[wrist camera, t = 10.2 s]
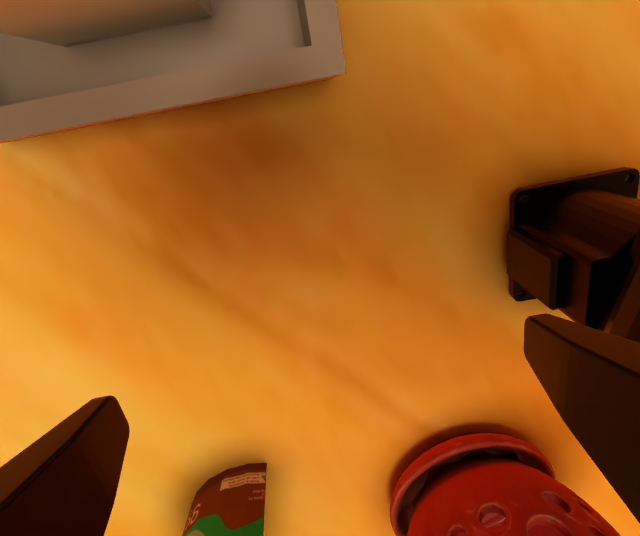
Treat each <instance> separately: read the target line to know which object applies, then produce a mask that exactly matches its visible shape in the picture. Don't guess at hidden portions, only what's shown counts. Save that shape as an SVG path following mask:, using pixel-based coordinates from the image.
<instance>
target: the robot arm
mask: <svg viewBox="0 0 640 536" xmlns="http://www.w3.org/2000/svg"><path fill="white" fill-rule="evenodd" d="M627 175H629V177H628V179H627V180H626V181H625V178H626V176H627ZM639 177H640V176H639V172H638V170H636V169H633V168H621V169H615V170H610V171H605V172H600V173H595V174H590V175H585V176H580V177H575V178H570V179H564V180H559V181H554V182H549V183H544V184H539V185H534V186H529V187H524V188H519V189H517V190H515V191H514V192H513V194H512V195H511V204H510V230H509V232H508V233H507V274H508V275H509V276H510V289H509V292H510V295H511V297H512V298H513V299H515V300H516V301H526V300H531V299H536V298H537V299H538V300H540V301H541V302H542V303H543V304H545V305H546V306H547V307H549V308H550V309H551V310H557V309H559V310H561V311H562V312H563V313H564V314H566V315H567V316H568V317H569V318H571V319H572V320H573V321H575V322H576V323H575V322H572V321H569V320H566V319H562V318H559V317H556V316H553V315H550V314H540V315H534V316H529V317H528V318H527V319H526V320H525V327H524V353H525V357H526V359H527V361H528V363H529V364H530V366H531V368H532V369H533V371H534V373H535V374H536V376H537V378H538V379H539V381H540V383H541V385H542V386H543V388H544V390H545V391H546V393H547V395H548V396H549V398H550V400H551V401H552V403H553V405H554V406H555V408H556V410H557V411H558V413H559V415H560V416H561V418H562V419H563V421H564V422H565V424H566V425H567V426H568V428H569V429H570V431H571V432H572V433H573V435H574V436H575V437H576V439H577V440H578V441H579V443H580V444H581V445H582V447H583V448H584V449H585V451H586V452H587V453H588V455H589V456H590V457H591V459H592V460H593V461H594V463H595V464H596V465H597V467H598V468H599V470H600V471H601V472H602V474H603V475H604V476H605V478H606V479H607V480H608V482H609V483H610V484H611V486H612V487H613V488H614V490H615V491H616V492H617V494H618V495H619V496H620V498H621V499H622V500H623V502H624V503H625V504H626V506H627V507H628V508H629V510H630V511H631V512H632V514H633V515H634V516H635V518H636V519H637V520H638V522H639V523H640V200H639V199H637V192H638V184H639ZM522 195H525V198H524V200H523V201H522V202H519V199H520V197H521V196H522ZM520 290H522V292H521V293H520V294H518V292H519V291H520ZM128 438H129V424H128V422H127V419H126V417H125V415H124V413H123V411H122V409H121V407H120V405H119V403H118V401H117V399H116V398H115V397H114V396H105V397H99V398H94V399H92V400H90V401H89V402H88V403H86V404H85V405H84V406H82V407H81V408H80V409H78V410H77V411H76V412H74V413H73V414H72V415H70V416H69V417H68V418H66V419H65V420H63V421H62V422H61V423H59V424H58V425H57V426H55V427H54V428H53V429H51V430H50V431H49V432H47V433H46V434H45V435H43V436H42V437H41V438H39V439H38V440H37V441H35V442H34V443H33V444H31V445H30V446H29V447H27V448H26V449H25V450H23V451H22V452H20V453H19V454H18V455H16V456H15V457H14V458H12V459H11V460H10V461H8V462H7V463H6V464H4V465H3V466H2V467H0V536H104V533H105V530H106V527H107V524H108V521H109V517H110V514H111V511H112V508H113V504H114V500H115V496H116V492H117V488H118V483H119V479H120V474H121V470H122V465H123V461H124V456H125V452H126V447H127V443H128Z"/></svg>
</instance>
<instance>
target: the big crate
mask: <svg viewBox="0 0 640 536" xmlns="http://www.w3.org/2000/svg"><path fill="white" fill-rule="evenodd" d="M209 4H210V8H211V12H212V16H213V18H208V19H203V20H198V21H193V22H188V23H183V24H178V25H173V26H168V27H163V28H158V29H153V30H148V31H143V32H138V33H133V34H128V35H124V36H119V37H114V38H109V39H104V40H99V41H94V42H89V43H84V44H79V45H74V46H69V47H63V46H59V45H54V44H50V43H45V42H41V41H36V40H31V39H27V38H22V37H18V36H13V35H9V34H4V33H0V143H4V142H10V141H15V140H20V139H25V138H30V137H35V136H40V135H45V134H50V133H56V132H61V131H66V130H71V129H76V128H81V127H86V126H91V125H96V124H101V123H107V122H112V121H117V120H122V119H127V118H132V117H137V116H142V115H147V114H152V113H158V112H163V111H168V110H173V109H178V108H183V107H188V106H193V105H198V104H203V103H209V102H214V101H219V100H224V99H229V98H234V97H239V96H244V95H249V94H254V93H260V92H265V91H270V90H275V89H280V88H285V87H290V86H295V85H300V84H305V83H311V82H316V81H321V80H326V79H331V78H334V77H336V76H339V75H342V74H344V73H346V68H345V60H344V53H343V46H342V39H341V31H340V24H339V17H338V10H337V2H336V0H209Z"/></svg>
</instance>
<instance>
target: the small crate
mask: <svg viewBox="0 0 640 536" xmlns="http://www.w3.org/2000/svg"><path fill="white" fill-rule="evenodd" d="M208 18H213V16H212V12H211V8H210V4H209V0H0V33H4V34H9V35H13V36H18V37H22V38H27V39H31V40H36V41H41V42H45V43H50V44H54V45H59V46H63V47H69V46H74V45H79V44H84V43H89V42H94V41H99V40H104V39H109V38H114V37H119V36H124V35H128V34H133V33H138V32H143V31H148V30H153V29H158V28H163V27H168V26H173V25H178V24H183V23H188V22H193V21H198V20H203V19H208Z"/></svg>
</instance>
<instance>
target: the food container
mask: <svg viewBox="0 0 640 536" xmlns="http://www.w3.org/2000/svg"><path fill="white" fill-rule="evenodd" d="M266 467H267V463H257V464H247V465H243V466H239V467H235V468H231V469H227V470H225V471H223V472H222V473H220V474H218V475H216V476H214V477H212V478H210V479H209V480H208V481H207V482H206V483H205V484H204V485H203V486H202V487H201V488H200V489H199V490H198V491H197V493H196V496H195V498H194V500H193V503H192V506H191V509H190V512H189V516H188V519H187V522H186V525H185V528H184V532H183V535H182V536H263V528H264V508H265V487H266Z"/></svg>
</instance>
